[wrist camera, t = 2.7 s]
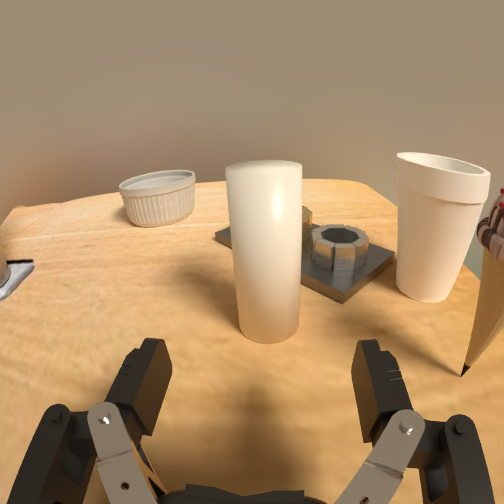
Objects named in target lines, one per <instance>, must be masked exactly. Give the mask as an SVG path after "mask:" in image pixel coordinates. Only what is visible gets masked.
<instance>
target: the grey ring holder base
mask: <svg viewBox="0 0 504 504" xmlns="http://www.w3.org/2000/svg"><path fill="white" fill-rule="evenodd" d="M215 235H216V241H217V242H219V243H221V244H223V245H225V246H227V247H229V248H231V249H232V243H231V231H230V227H229V228H226V229H224V230H221V231H218V232H215ZM394 254H395V252H393V251H390V250H387V249H384V248H382V247H379V246H376V245H373V244H371V243H369V238H368V237H367V235H366V233H365V232H364V231H362V230H360V229H357V228H354V227H351V226H348V225H347V226H345V227H344V225H327V226H324V225H323V226H318V225H315V224H312V212H311V211H310V210H309V209H308V208H307V207H305V206H302V251H301V284H303V285H305V286H308V287H310V288H312V289H314V290H316V291H318V292H320V293H322V294H324V295H326V296H328V297H330V298H332V299H334V300H336V301H338V302H340V303H342V304H343V303H344V302H346V301H347V300H348V299H349V298H351V297H352V296H353V295H354V294H356V293H357V292H358V291H359V290H360V289H362V288H363V287H364V286H365V285H366V284H368V283H369V282H370V281H371V280H372V279H374V278H375V277H376V276H377V275H378V274H379V273H381V272H382V271H383V270H384V269H385V268H386V267H387V266H389V265H390V264H391V263H392V262H393V260H394Z"/></svg>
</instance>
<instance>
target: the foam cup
mask: <svg viewBox="0 0 504 504" xmlns="http://www.w3.org/2000/svg"><path fill="white" fill-rule="evenodd" d="M490 176H491V174H490V173H489V172H488V171H487V170H485V169H483V168H481V167H478V166H476V165H474V164H470V163H467V162H464V161H461V160H457V159H452V158H448V157H444V156H438V155H432V154H425V153H411V152H405V153H398V154H397V162H396V177H395V178H396V179H395V182H397V188H398V189H397V190H398V246H397V268H396V285H397V287H398V288H399V290H400V291H401V292H402V293H404V294H405V295H407V296H408V297H409V298H412V299H415V300H418V301H421V302H430V303H436V302H439V301H442V300H445V298H446V297H447V296H448V295H449V292H450V290H451V289H452V287H453V285H454V282H455V280H456V278H457V275H458V273H459V271H460V268H461V266H462V264H463V261H464V259H465V256H466V253H467V251H468V248H469V245H470V243H471V240H472V238H473V235H474V232H475V229H476V226H477V223H478V220H479V217H480V214H481V211H482V207H483V205H484V202H485V200H487V197H488V191H489V184H490Z"/></svg>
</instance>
